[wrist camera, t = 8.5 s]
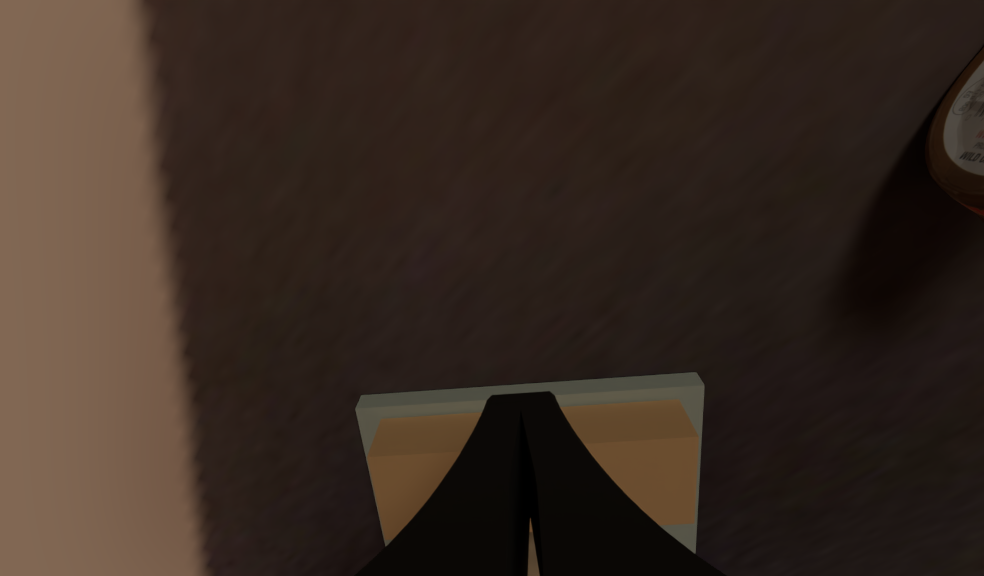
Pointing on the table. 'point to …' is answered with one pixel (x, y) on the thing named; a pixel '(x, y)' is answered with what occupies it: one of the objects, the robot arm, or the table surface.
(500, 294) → the table surface
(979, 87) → the tin
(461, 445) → the block
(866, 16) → the table surface
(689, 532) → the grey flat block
